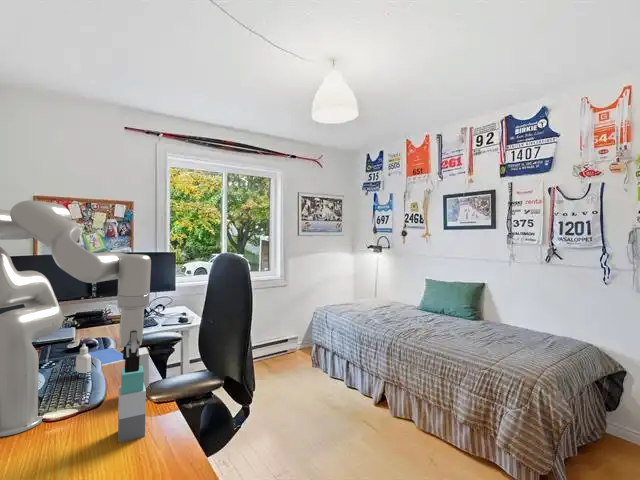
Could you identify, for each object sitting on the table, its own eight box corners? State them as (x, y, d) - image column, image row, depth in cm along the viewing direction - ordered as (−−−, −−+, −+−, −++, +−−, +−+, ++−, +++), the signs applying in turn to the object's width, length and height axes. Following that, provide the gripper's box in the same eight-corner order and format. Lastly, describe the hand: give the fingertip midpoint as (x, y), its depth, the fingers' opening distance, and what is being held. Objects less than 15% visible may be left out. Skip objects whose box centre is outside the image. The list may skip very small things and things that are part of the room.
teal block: (121, 394, 89) (121, 375, 89) (121, 387, 93) (121, 368, 93) (143, 390, 92) (143, 371, 91) (141, 383, 96) (142, 365, 96)
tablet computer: (130, 360, 147) (130, 357, 147) (96, 369, 137) (96, 365, 137) (113, 350, 159) (113, 347, 159) (80, 357, 149) (80, 354, 149)
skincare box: (149, 399, 112) (150, 353, 112) (128, 404, 108) (129, 356, 108) (146, 389, 119) (147, 346, 119) (125, 393, 115) (126, 349, 115)
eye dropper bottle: (77, 380, 125) (77, 347, 125) (75, 375, 129) (76, 343, 129) (91, 377, 128) (92, 344, 127) (89, 372, 132) (90, 341, 132)
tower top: (119, 419, 88) (119, 395, 88) (118, 409, 93) (118, 386, 93) (145, 413, 91) (145, 390, 91) (143, 404, 97) (143, 382, 97)
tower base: (118, 442, 88) (119, 419, 88) (118, 431, 93) (118, 409, 93) (144, 436, 91) (145, 413, 91) (142, 425, 97) (143, 404, 97)
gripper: (116, 296, 98) (113, 356, 98) (118, 308, 83) (114, 379, 83) (146, 294, 102) (143, 353, 102) (152, 306, 87) (149, 374, 87)
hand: (130, 365), depth 92 cm, fingers open, 9 cm apart
